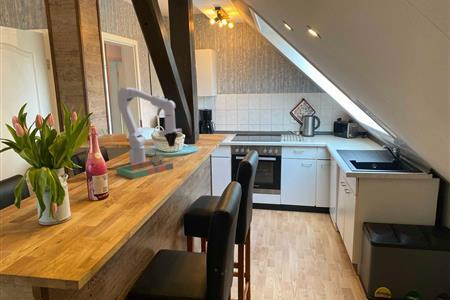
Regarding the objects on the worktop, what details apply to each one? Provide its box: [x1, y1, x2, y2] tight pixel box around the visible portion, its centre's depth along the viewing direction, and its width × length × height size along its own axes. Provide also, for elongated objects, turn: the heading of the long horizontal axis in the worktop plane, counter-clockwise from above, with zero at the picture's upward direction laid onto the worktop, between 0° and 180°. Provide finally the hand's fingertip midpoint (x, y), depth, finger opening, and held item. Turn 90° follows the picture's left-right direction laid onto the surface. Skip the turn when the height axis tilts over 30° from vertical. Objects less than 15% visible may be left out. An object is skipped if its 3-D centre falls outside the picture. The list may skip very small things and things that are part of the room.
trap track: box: [115, 159, 174, 180], centre depth 176 cm, size 16×25×3 cm, turn 138°
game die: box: [148, 152, 167, 167], centre depth 182 cm, size 9×8×10 cm
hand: (171, 146), depth 188 cm, fingers closed
